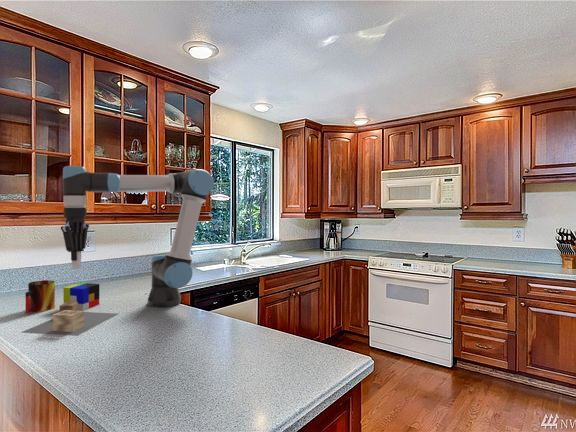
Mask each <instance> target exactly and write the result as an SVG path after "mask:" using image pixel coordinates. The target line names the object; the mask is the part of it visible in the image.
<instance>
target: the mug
mask: <svg viewBox="0 0 576 432" xmlns="http://www.w3.org/2000/svg"><path fill="white" fill-rule="evenodd" d="M55 282H56V281H55V280H53V279H46V280H36V281H31V282H29V283H28V285H27V287H28V288H27V290H28V291H26V292H25V314H26V315H27V314H28V315H29V314H30V313H37V312H38V313H40V312H41V313H42V312H47V311H50V310H53V309H55V307H56V304H55V301H56V299H55V298H56V297H55V296H56V294H55V293H56V292H55V291H56V289H55V287H56V286H55Z"/></svg>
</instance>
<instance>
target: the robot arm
mask: <svg viewBox="0 0 576 432" xmlns="http://www.w3.org/2000/svg"><path fill="white" fill-rule="evenodd" d="M214 183H215V181H214V177H213V176H212V175H211V173H210V172H208V171H207V170H205V169H202V168H201V169H200V168H196V169H191V170H186V171H182V172H174V173H172V172H171V173H170V172H169V173H168V174H165V175H164V174H163V175H162V174H161V175H160V174H159V175H158V174H155V175H154V174H149V175H148V174H118V173H113V172H89V171H87V169H86V167H84V166H81V165H80V166H77V165H67V166H66V165H65V166H64V167H63V168H62V192H63V195H62V196H63V217H64V218H65V219H66V220H65V225H63V226H60V230H61V232H62V234H63V239H64V240H63V241H64V245H65V246H64V247H65V250H66V251H67V252H68V253H70V259H71V269H72V270H73V269H74V270H80V269H82V252H84V251H85V249H86V245H87V236H88V230H89V227H90V224H87V223H86V221H85V218H86V217H87V208H86V206H87V192H92V193H97V194H98V193H128V192H129V193H132V192H133V193H135V192H136V193H139V192H140V193H141V192H144V193H145V192H168V193H170V194H179V195H180V197H181V198H182V202H181V207H180V211H179V214H178V219H177V224H176V228H175V231H174V235H173V239H172V244H171V248H170V251H169V252H167V253H165V254H161V255H154V256H152V258H151V288H150V291H149V294H148V296H147V305H148V306H149V307H152V308H153V307H155V308H161V307H162V308H167V307H172V306H177V305H179V304H180V303H181V302H182V296H181V293H180V290H179V289H181V288H184V287H185V286H187V285H188V284H189V283H190V281H191V280H192V278H193V273H194V272H193V269H192V267H191V266H192V262H193V258H192V256H191V251H192V246H193V243H194V238H195V233H196V229H197V227H198V221H199V217H200V214H201V209H202V205H203V204H204V203H206V202H207V199H208V195H209V194H210V193H211V192H212V191H213V189H214V187H215V186H214V185H215V184H214Z"/></svg>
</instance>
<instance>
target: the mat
mask: <svg viewBox="0 0 576 432" xmlns="http://www.w3.org/2000/svg"><path fill="white" fill-rule="evenodd" d="M117 315H119V313H116V312H115V313H113V312H112V313H111V312H110V313H109V312H93V311H92V312H91V311H84V327H82V328H80V329H78V330H76V331H74V332H64V331H53V318H52V319H50V320H47V321H44V322H43V323H40V324H37V325H35V326H33V327H29V328H28V329H26V330H23V331H21V333H27V334H42V335H44V334H45V335H57V336H58V335H59V336H60V335H61V336H76V337H78V336H80V335H82V334H84V333H86V332H88V331H90V330H91V329H93V328H95V327H96V326H99V325H101V324H103V323H104V322H106V321H108V320H110V319H112V318H114V317H115V316H116V317H117Z"/></svg>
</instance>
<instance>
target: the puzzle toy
mask: <svg viewBox="0 0 576 432" xmlns="http://www.w3.org/2000/svg"><path fill="white" fill-rule="evenodd" d="M65 302H78V311H84V312H85V311H87V310H89V309H92V308H94V307H97V306H100V283H91V282H89V283H88V282H79V283H75V284H71V285H67V286H64V287H63V303H65Z"/></svg>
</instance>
